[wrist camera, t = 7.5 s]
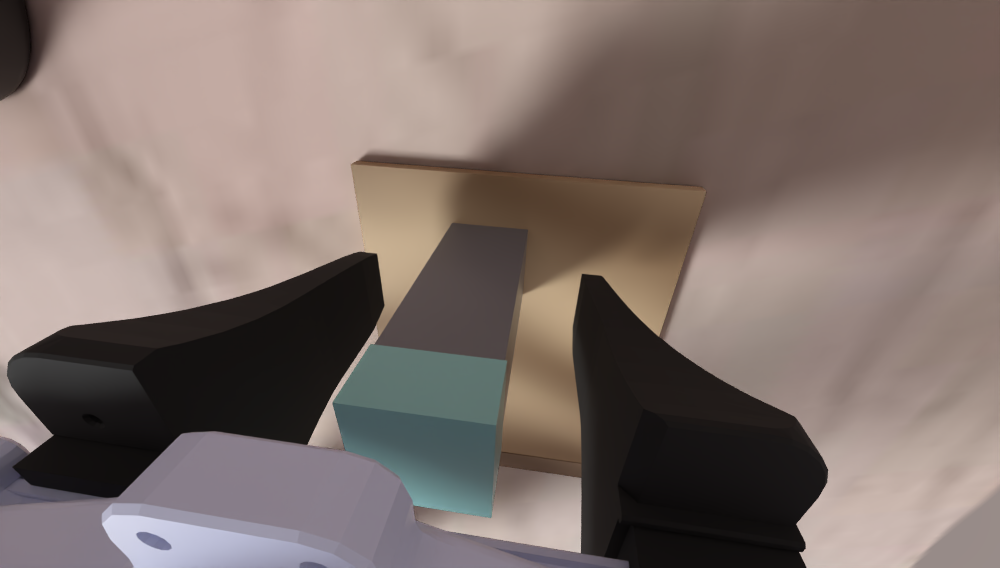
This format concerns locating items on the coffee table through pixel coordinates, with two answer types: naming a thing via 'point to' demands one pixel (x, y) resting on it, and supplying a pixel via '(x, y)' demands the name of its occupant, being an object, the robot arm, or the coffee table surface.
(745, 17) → the coffee table surface
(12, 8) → the mug
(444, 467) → the teal block
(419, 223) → the tan rectangular board
